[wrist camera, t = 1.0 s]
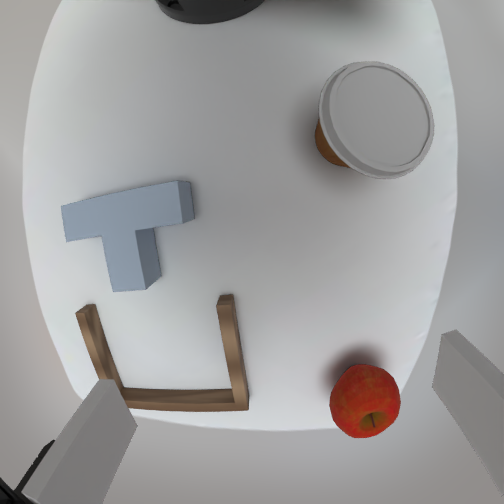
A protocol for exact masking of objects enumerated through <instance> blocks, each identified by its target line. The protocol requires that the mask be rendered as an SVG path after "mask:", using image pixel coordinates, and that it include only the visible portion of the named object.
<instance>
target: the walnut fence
mask: <svg viewBox="0 0 504 504" xmlns="http://www.w3.org/2000/svg"><path fill="white" fill-rule="evenodd" d="M216 307H217V313H218V319H219V324H220V330H221V335H222V341H223V346H224V351H225V356H226V361H227V367H228V372H229V377H230V381H231V386H232V389H214V390H162V389H139V388H124V387H123V385H122V382H121V380H120V377H119V375H118V372H117V369H116V367H115V364H114V361H113V358H112V356H111V353H110V350H109V347H108V344H107V341H106V338H105V335H104V332H103V329H102V326H101V322H100V319H99V316H98V312H97V309H96V305H95V304H90V305H86V306H84V307H83V308H82V309H80V310H79V311H77V312H76V313H75V314H76V317H77V320H78V323H79V327H80V330H81V333H82V336H83V338H84V341H85V344H86V347H87V350H88V352H89V355H90V358H91V360H92V363H93V365H94V368H95V370H96V373H97V375H98V378H99V379H111V380H114V381H115V383H116V385H117V387H118V389H119V391H120V393H121V395H122V397H123V399H124V401H125V403H126V405H127V407H128V408H133V409H145V410H160V411H186V412H220V411H246V410H248V409H249V391H248V385H247V380H246V374H245V368H244V362H243V356H242V349H241V343H240V337H239V331H238V324H237V318H236V311H235V305H234V298H233V294H232V295H222V296H220V297H219V300H218V302H217V305H216Z"/></svg>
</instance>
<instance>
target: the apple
mask: <svg viewBox="0 0 504 504" xmlns="http://www.w3.org/2000/svg"><path fill="white" fill-rule="evenodd" d="M400 404H401V401H400V394H399V389H398V386H397V384H396V382H395V380H394V378H393V377H392V376H391V375H390V374H389V373H388V372H387V371H385V370H384V369H381V368H378V367H375V366H371V365H366V364H358V365H354V366H351V367H350V368H349V369H348V370H346V372H345V373H344V374H343V375H342V376H341V377H340V379H339V380H338V382H337V383H336V385H335V386H334V388H333V390H332V392H331V396H330V404H329V406H330V410H331V414H332V418H333V421H334V422H335V423H336V425H337V426H338V427H339V428H340V429H341V430H342V431H344V432H345V433H346V434H347V435H349V436H351V437H354V438H367V437H372V436H375V435H377V434H379V433H381V432H382V431H384V430H385V429H386V428H388V427H389V426H390V425H391V424H392V423H394V421H395V420H396V418H397V416H398V414H399V409H400Z"/></svg>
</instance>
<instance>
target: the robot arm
mask: <svg viewBox="0 0 504 504" xmlns="http://www.w3.org/2000/svg"><path fill="white" fill-rule="evenodd" d="M263 1H264V0H156V2H157V4H158V5H159V7H160V8H161V10H162V11H163V12H164V13H165V14H167V15H168V16H170V17H172V18H174V19H176V20H179V21H183V22H188V23H215V22H221V21H226V20H229V19H233V18H236V17H239V16H241V15H243V14H245V13H247V12H249V11H251V10H253V9H254V8H256V7H257V6H259V5H260V4H261V3H262V2H263ZM432 388H433V389H434V391H435V392H436V393H437V395H438V396H439V398H440V399H441V401H442V402H443V403H444V405H445V406H446V408H447V409H448V411H449V412H450V414H451V415H452V417H453V418H454V420H455V421H456V423H457V424H458V426H459V427H460V429H461V430H462V432H463V433H464V435H465V436H466V438H467V439H468V441H469V443H470V444H471V446H472V447H473V449H474V451H475V452H476V454H477V455H478V457H479V459H480V460H481V462H482V463H483V465H484V467H485V468H486V470H487V472H488V474H489V475H490V477H491V479H492V480H493V482H494V484H495V486H496V487H497V489H498V491H499V492H500V495H501V496H503V495H504V374H503V373H502V372H501V371H500V370H499V369H498V368H497V367H496V366H495V365H494V364H493V363H491V361H490V360H488V358H486V357H485V356H484V355H483V354H482V353H481V352H480V351H479V350H478V349H477V348H476V347H475V346H474V345H473V344H471V343H470V342H469V341H468V340H467V339H466V338H465V337H464V336H463V335H461V334H460V333H459V332H458V331H457V330H454V331H450V332H448V333H444V334H442V335H441V341H440V347H439V354H438V360H437V365H436V370H435V375H434V380H433V385H432ZM137 426H138V425H137V424H136V422H135V420H134V418H133V416H132V414H131V413H130V411H129V409H128V407H127V405H126V403H125V401H124V399H123V397H122V395H121V393H120V391H119V389H118V387H117V385H116V383H115V381H114V380H111V379H99V381H98V382H97V383H96V385H95V386H94V387H93V389H92V390H91V391H90V393H89V394H88V395H87V397H86V398H85V400H84V401H83V402H82V404H81V405H80V406H79V408H78V409H77V411H76V412H75V413H74V415H73V416H72V418H71V419H70V420H69V422H68V423H67V425H66V426H65V427H64V429H63V430H62V432H61V433H60V435H59V436H58V438H57V439H56V440H52V441H51V442H50V443H48V444H47V445H46V446H44V448H43V449H42V451H41V452H40V453H39V455H38V458H36V459H35V461H34V462H33V465H31V467H30V468H29V469H28V471H27V472H26V474H25V476H24V477H23V478H22V480H21V481H20V483H19V485H18V486H17V487H16V489H15V490H14V491H13V490H12V489H11V488H10V487H9V486H8V485H7V484H6V483H5V482H4V481H3V480H2V479H1V478H0V504H102V503H103V501H104V498H105V496H106V494H107V492H108V489H109V487H110V485H111V483H112V480H113V478H114V476H115V474H116V472H117V469H118V467H119V465H120V463H121V461H122V458H123V456H124V454H125V452H126V449H127V448H128V445H129V443H130V441H131V439H132V437H133V435H134V432H135V430H136V428H137Z"/></svg>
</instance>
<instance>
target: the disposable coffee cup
mask: <svg viewBox="0 0 504 504" xmlns="http://www.w3.org/2000/svg"><path fill="white" fill-rule="evenodd" d="M318 110H319V119H318V124H317V127H316V130H315V141H316V145H317V148H318V150H319V151H320V153H321V154H322V156H323V157H324V158H325V159H327V160H328V161H329V162H331V163H333V164H335V165H338V166H343V167H348V168H352V169H354V170H356V171H358V172H359V173H361V174H364V175H367V176H370V177H373V178H379V179H392V178H398V177H401V176H404V175H406V174H408V173H409V172H411V171H413V170H414V169H415V168H416V167H417V166H418V165H419V164H420V163H421V161H422V160H423V159H424V157H425V156H426V154H427V153H428V151H429V149H430V147H431V144H432V141H433V136H434V120H433V115H432V110H431V107H430V104H429V102H428V100H427V98H426V96H425V94H424V93H423V91H422V89H421V88H420V87H419V86H418V85H417V84H416V82H415V81H414V80H413V79H412V78H411V77H409V76H408V75H407V74H406V73H404V72H403V71H401V70H400V69H398V68H396V67H394V66H391V65H389V64H385V63H381V62H356V63H352V64H348V65H345V66H343V67H342V68H340V69H339V70H337V71H335V72H334V73H333V74H332V76H331V77H330V78H329V79H328V80H327V82H326V84H325V86H324V88H323V90H322V92H321V95H320V100H319V108H318Z"/></svg>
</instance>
